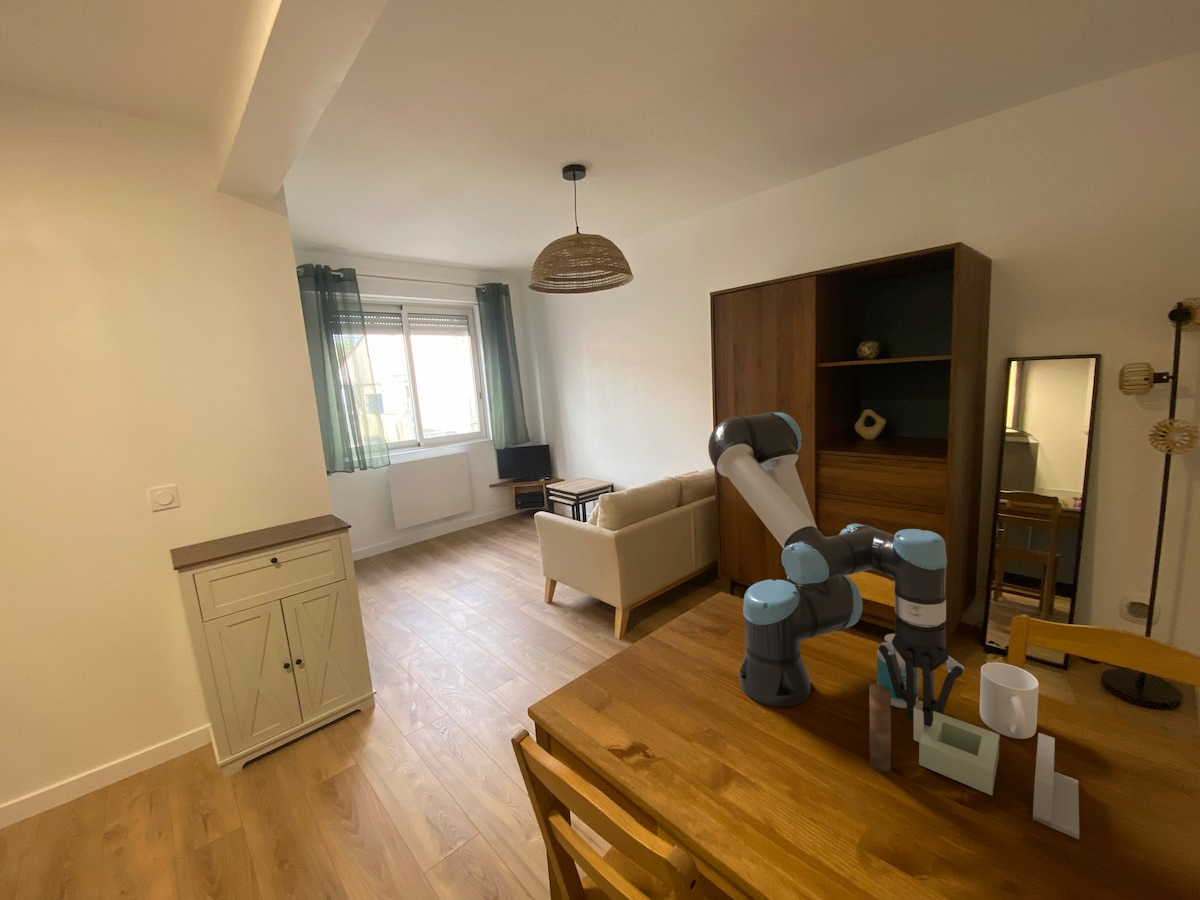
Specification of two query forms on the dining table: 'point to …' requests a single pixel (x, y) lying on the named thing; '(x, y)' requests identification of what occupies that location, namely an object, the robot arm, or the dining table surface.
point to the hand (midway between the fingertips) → (920, 737)
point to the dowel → (880, 728)
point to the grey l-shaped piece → (1054, 792)
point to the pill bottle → (884, 676)
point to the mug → (1009, 700)
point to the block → (960, 752)
